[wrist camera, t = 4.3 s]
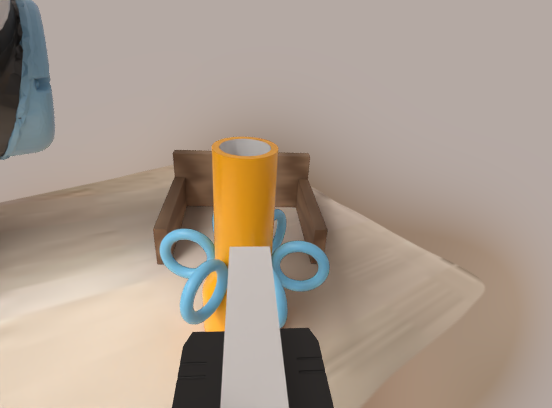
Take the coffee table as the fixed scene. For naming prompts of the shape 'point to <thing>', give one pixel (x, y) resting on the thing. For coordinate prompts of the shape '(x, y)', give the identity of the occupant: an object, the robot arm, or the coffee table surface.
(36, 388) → the coffee table surface
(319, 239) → the pocket
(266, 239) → the cylinder
